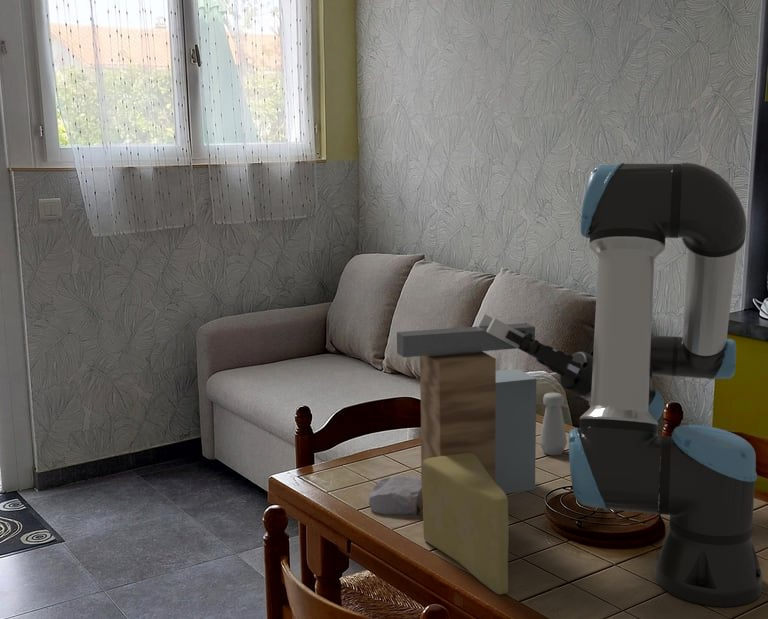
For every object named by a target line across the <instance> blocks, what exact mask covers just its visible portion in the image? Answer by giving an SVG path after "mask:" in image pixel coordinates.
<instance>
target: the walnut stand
mask: <svg viewBox="0 0 768 619" xmlns="http://www.w3.org/2000/svg"><path fill="white" fill-rule="evenodd" d="M496 363H497V359H496V358H495V357H494V356H491V355H489V354H488V353H487V352H485V351H479V352H466V353H453V354H441V355H428V356H419V364H420V365H419V368H420V370H419V371H420V372H419V373H420V377H419V378H420V380H419V382H420V390H419V392H420V460H421V461H420V462H421V464H420V466H421V472H420V474H421V475H420V476H421V478H420V479H421V481H422V504H421V506H418V512H417V513H419V515H421V517H423V473H422V463H423V461H424V460H425V459H428V458H433V457H439V456H446V455H454V454H461V453H473V454H475V455H476V456H477V458H478V459H479V460H480V462H481V463H482V465H483V467H484V468H485V470H486V471H487V473H488V474H489V475H490V477H491V478H492V479H493V480H494V482H495V409H496V371H497V368H496V367H497V364H496Z"/></svg>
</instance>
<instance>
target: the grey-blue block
mask: <svg viewBox="0 0 768 619" xmlns="http://www.w3.org/2000/svg"><path fill="white" fill-rule="evenodd" d="M536 433H537V378H536V377H534V376H532V375H531V374H528V373H527V372H525V371H523V370H521V369H519V368H515V369H514V368H513V369H504V370H503V369H502V370H496V409H495V483H496V484H497V485H498V486H499V487H500V488H501V489H502V490H503V491H504V492H505V494H506V495H507V494H515V493H522V492H529V491H535V490H536V446H537V444H536V440H537V436H536V435H537V434H536Z"/></svg>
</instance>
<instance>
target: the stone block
mask: <svg viewBox="0 0 768 619" xmlns="http://www.w3.org/2000/svg"><path fill="white" fill-rule="evenodd" d="M368 504H369V506H370V509H371V511H372V512H373V513H376V514H377V513H378V514H383V515H411V516H415V515H417V514H418V513H419V512H418V506H422V481H421V478H419V477H416V476H411V475H400V474H399V475H395V476H388V477H385V478H382V479H380V480H379V481H378V483H376V484H375V485H374V487H373V488H372V490H371V492H370V493H369V496H368Z"/></svg>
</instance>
